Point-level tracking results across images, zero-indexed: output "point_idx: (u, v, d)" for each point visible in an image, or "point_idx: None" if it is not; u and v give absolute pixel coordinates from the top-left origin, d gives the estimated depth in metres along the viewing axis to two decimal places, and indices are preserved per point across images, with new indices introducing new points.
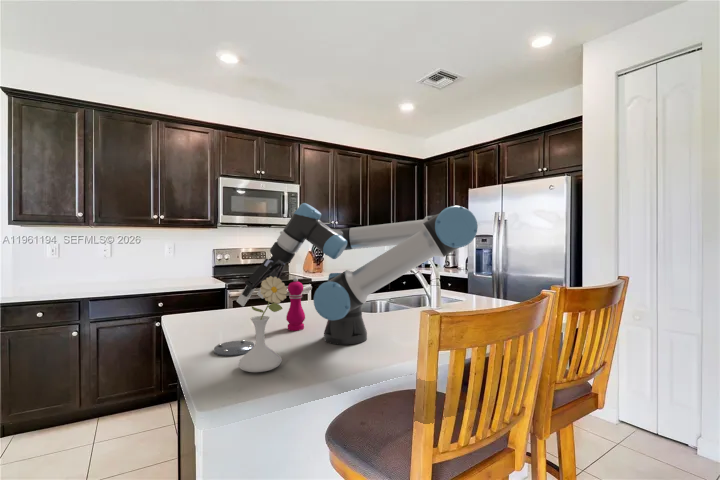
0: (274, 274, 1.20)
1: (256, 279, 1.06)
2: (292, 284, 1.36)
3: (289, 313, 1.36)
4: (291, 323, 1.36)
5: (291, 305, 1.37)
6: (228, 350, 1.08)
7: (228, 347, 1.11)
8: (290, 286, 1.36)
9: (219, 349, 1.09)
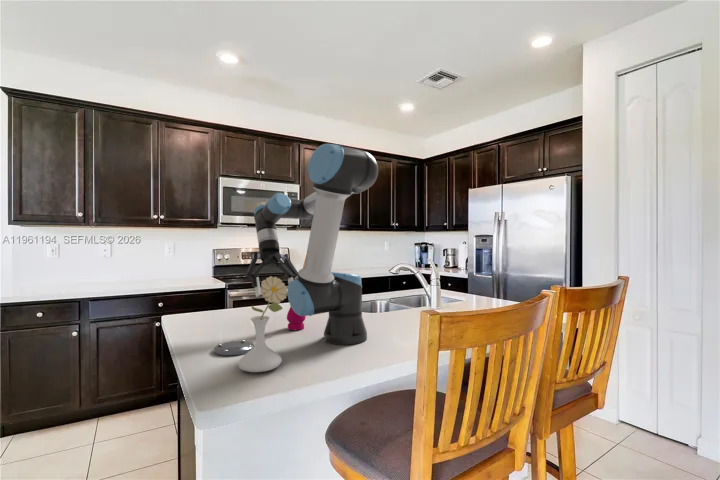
0: (283, 268, 1.35)
1: (249, 267, 1.26)
2: None
3: (290, 312, 1.36)
4: (291, 322, 1.36)
5: None
6: (228, 350, 1.08)
7: (228, 347, 1.11)
8: None
9: (219, 349, 1.09)
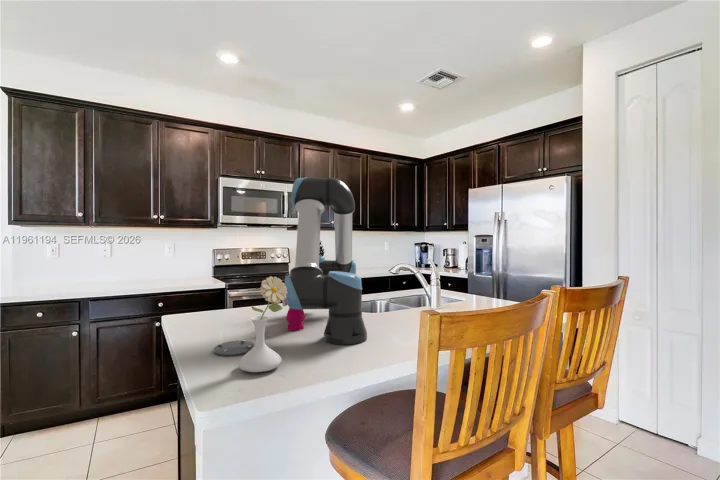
0: None
1: None
2: None
3: (289, 313, 1.36)
4: (291, 323, 1.36)
5: None
6: (228, 350, 1.08)
7: (228, 347, 1.11)
8: None
9: (219, 349, 1.09)
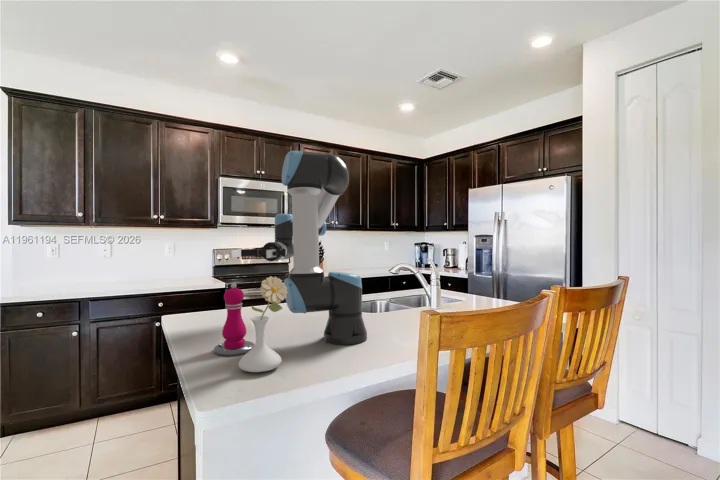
0: None
1: None
2: (228, 291, 1.10)
3: (225, 327, 1.10)
4: (227, 339, 1.10)
5: (227, 317, 1.11)
6: (228, 350, 1.08)
7: None
8: (226, 294, 1.10)
9: (219, 349, 1.09)
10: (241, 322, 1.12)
